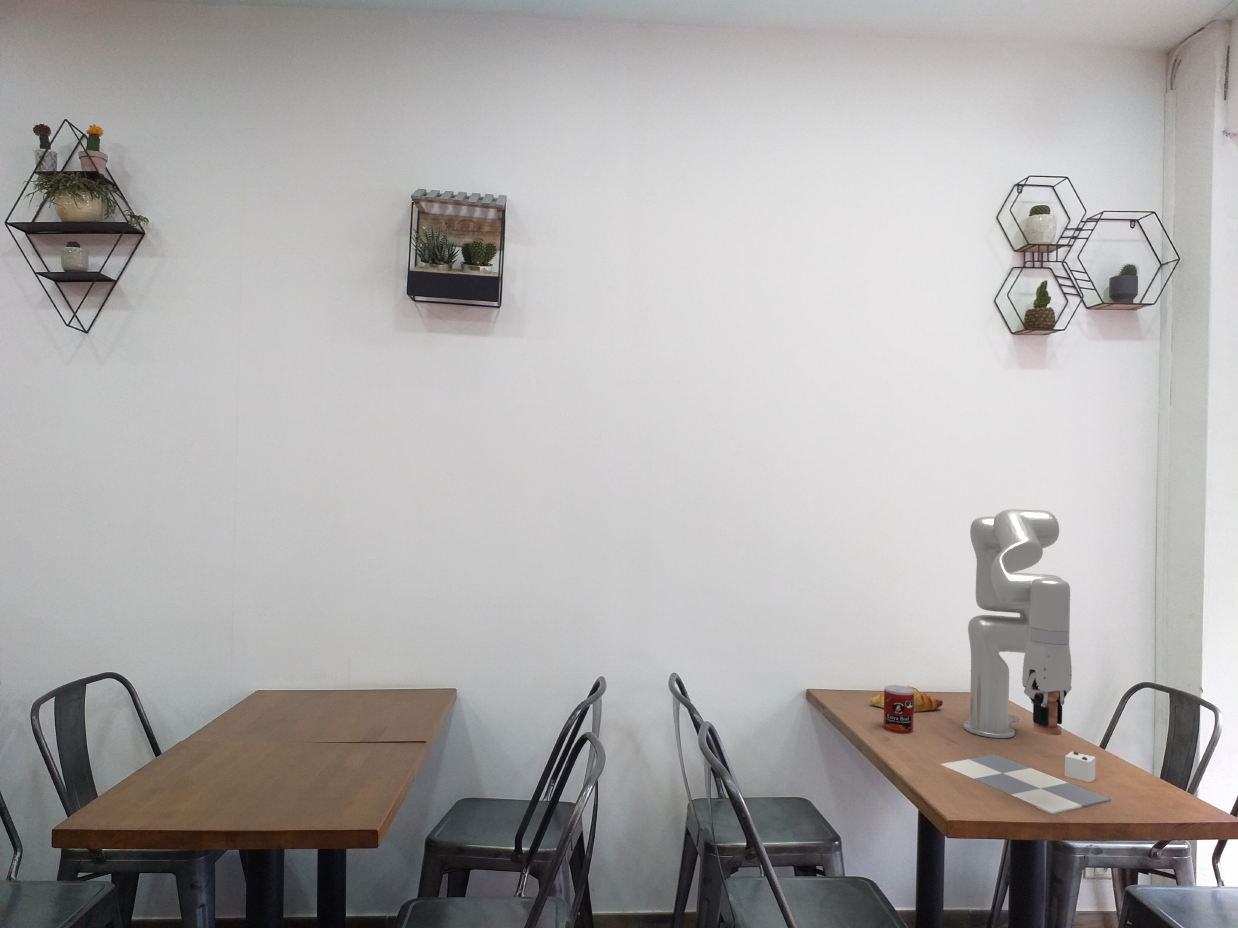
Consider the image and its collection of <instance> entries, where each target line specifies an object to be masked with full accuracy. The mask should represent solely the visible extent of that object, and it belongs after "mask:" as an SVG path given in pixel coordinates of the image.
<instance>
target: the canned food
mask: <svg viewBox="0 0 1238 928" xmlns="http://www.w3.org/2000/svg"><path fill="white" fill-rule="evenodd" d="M909 687H910V686H909ZM909 687H907V686H904V685H896V684H894V685H893V684H891V685H885V687H884V690H883V694H884V708H883V728H884V729H885V730H886V731H889V732H892V733H895V734H909V733H912V732H913V729H914V715H915V714H914V713H915V712H914V690H913V689H911V688H909Z"/></svg>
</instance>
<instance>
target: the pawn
mask: <svg viewBox="0 0 1238 928" xmlns="http://www.w3.org/2000/svg"><path fill="white" fill-rule="evenodd" d="M1038 690H1039V687H1038ZM1038 695H1039V696H1040V697H1042V694H1039V693H1038ZM1058 697H1059V692H1058V691H1054V692H1048V698H1047V706H1046V707H1049V724H1048V726H1043V725H1039V724H1036V723H1034V722H1033V727H1032V728H1033V731H1035V732H1037V733H1039V734H1044V735H1048V736H1060V735H1062V726H1061V725H1060V724H1057V709H1058V702H1057V699H1058Z"/></svg>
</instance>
